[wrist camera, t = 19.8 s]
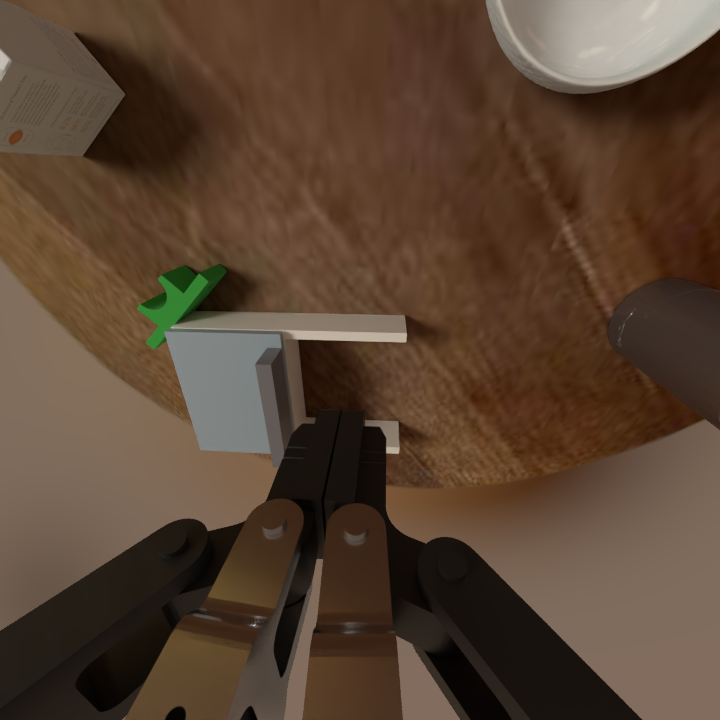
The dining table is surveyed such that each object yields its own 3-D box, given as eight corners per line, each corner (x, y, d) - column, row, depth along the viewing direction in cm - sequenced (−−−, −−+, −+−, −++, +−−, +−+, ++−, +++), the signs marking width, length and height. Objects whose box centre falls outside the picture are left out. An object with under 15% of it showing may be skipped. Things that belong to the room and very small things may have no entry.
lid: (282, 331, 34) (268, 350, 30) (297, 450, 41) (287, 477, 38) (168, 328, 35) (141, 346, 31) (203, 445, 42) (185, 471, 38)
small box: (73, 29, 28) (-84, -46, 19) (129, 95, 30) (12, 57, 21) (29, 102, 31) (-127, 69, 21) (83, 159, 33) (-39, 151, 23)
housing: (404, 315, 37) (406, 333, 33) (397, 427, 45) (398, 453, 41) (195, 310, 39) (170, 327, 35) (222, 419, 47) (205, 443, 42)
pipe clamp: (200, 245, 36) (176, 253, 32) (228, 270, 37) (209, 281, 33) (150, 312, 40) (123, 327, 36) (176, 333, 41) (153, 350, 37)
